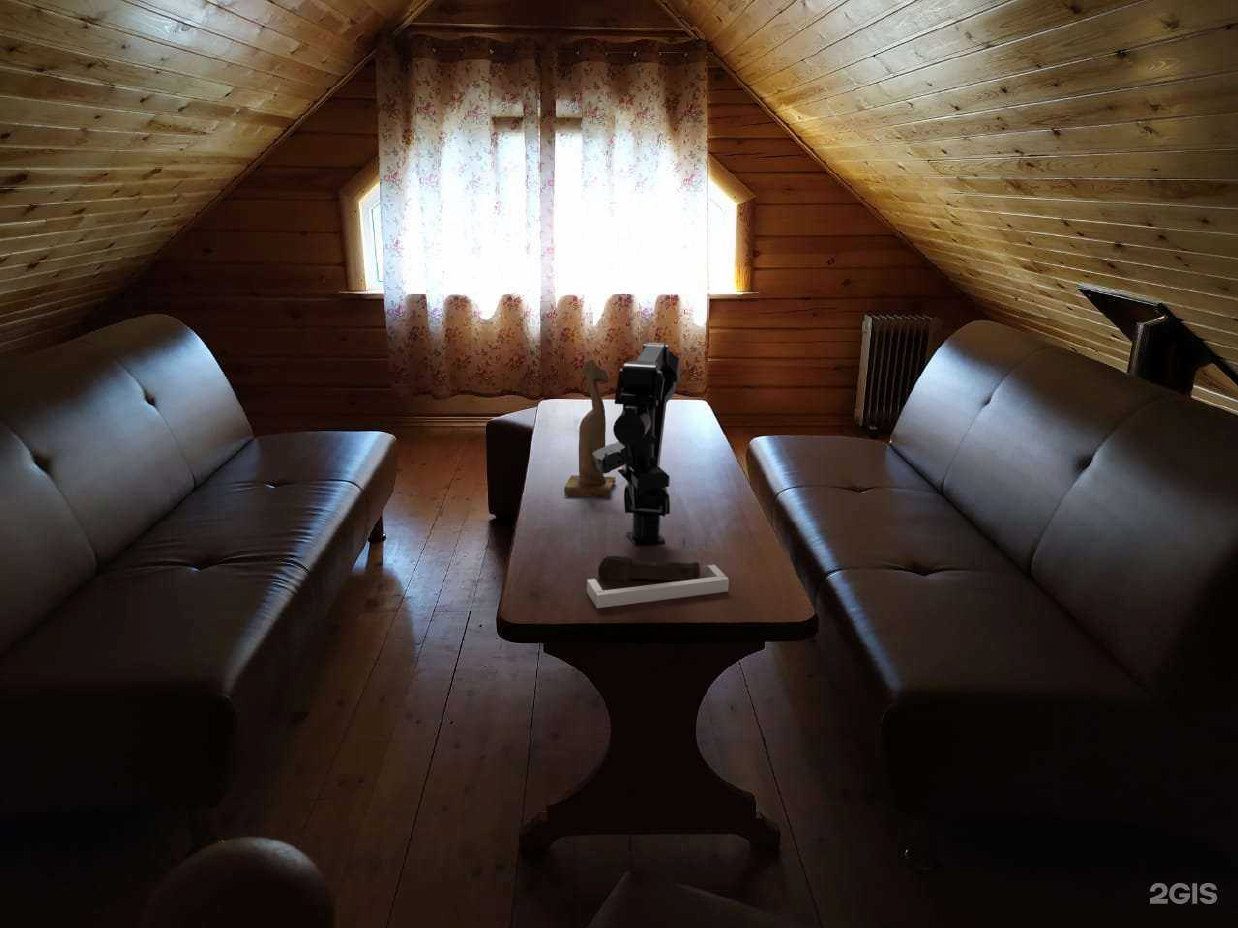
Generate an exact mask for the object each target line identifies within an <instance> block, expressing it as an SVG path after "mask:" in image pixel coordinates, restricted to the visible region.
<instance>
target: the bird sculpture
mask: <svg viewBox="0 0 1238 928" xmlns="http://www.w3.org/2000/svg"><path fill="white" fill-rule="evenodd" d="M582 373H583V375H584V377H585V380H586V383H587V388H588V390H589V395H590V399H591V408H592V409H591V410H590V411H589V412H588V413H586V415H585V416H584V417H583V418H582V419H581V421H580V424H579V427H578V428H579V431H578V436H579V437H578V475H574V474H571V475H570V476H569V479H568V480H567V481H566V482H567V483H566V484H565V486H564V487H563V489H564V490H563V492H564V497H566V496H568V497H571V496H572V497H574V498H578V497H581V498H588V499H589V498H591V499H592V498H594V499H610V498H611V490H612V486H613V484H614V485H615V484H616V480H617V479H616V476H605V474H603V473H601V471H600V470H599V469H598V468H597V465H596V462H595V460H594V457H593V454H592V453H593V452H594V451H596V450H599V449H601V448H603V447H605V446H606V442H607V441H606V431H607V427H606V425H607V424H606V422H607V421H606V411H605V410H606V409H605V405H604V402H603V398H602V395H601V393H600V392H601V391H600V389H599V386H598V382H603V383H606V384H607V383H608V373H607V372H606V370H604V369H602V368H601V367H599V366H598V365H597V363H596V361H595V359H588V360H586V362H585V363H584V365H583V368H582Z"/></svg>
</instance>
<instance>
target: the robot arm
mask: <svg viewBox="0 0 1238 928" xmlns="http://www.w3.org/2000/svg"><path fill="white" fill-rule="evenodd" d="M680 363H681V362H680V357H679V356H677V355H675V354H674V353H673V352H672V351H671V350H670V345H669V344H666V343H663V342H662V343H659V342H646V343H644V344H643V346H642V351H641V353H640V355H639V356H638V358H637V359H636V360H632V361H627V362H625V363H624V364H623V366H622V368H620V369H619V370H618V371H619V372H618V376H617V383H616V389H615V396H614V404H615V405H622V411H621V413H620V414H619V416H618V418H617V419H616V420H615V422H614V424H613V429H612V430H613V431H612V432H613V435H614V438H615V439H616V440H617V441H616V442H615V443H611V444H608V445H605V447H603V448H601V449H599V450H596V451H594V452H593V453H592V454H593V457H594V460H595V462H596V465H597V468H598V469H599V470H600V471H601V473H603V475H606V474H610V472H611V471H614V470H616V469H618V470H617V472H618V473H619V474H620V475H621V477H623V479H624V480H626V483H627V484H625V486H624V492H623V502H624V504H623V505H624V514H632V523H631V524H632V525H631V526H632V530H631V531H626V535H627V537H628V538H629V539H630V540H631V541H632V543H633V544H634V545H636V546H645V545H653V544H654V545H655V544H664V543H665V542H666V539H665V538H664V537H663V536H662V535H661V533H660V531H661V530H660V528H661V517H666V515H670V514H671V497H670V494H669V493H668V488H669V487H670V481H671V480H670V475H669V474H668V473H667V472H666V471H665V470H664V469H662V468H661V467H660V463H661V453H662V446H663V437H664V428H665V420H666V412H667V404H668V402H669V401H670V399H672V397H673V396H674V394H675V393H676V389H677V383H678V384H679V383H680V380H681V365H680ZM620 467H621V469H619V468H620Z"/></svg>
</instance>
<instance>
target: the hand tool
mask: <svg viewBox="0 0 1238 928" xmlns="http://www.w3.org/2000/svg"><path fill="white" fill-rule="evenodd" d="M597 573H598V575H597V576H598V577H600V578H603V579H607V580H610V581H611V580H612V581H613V580H614V581H620V582H628V581H630V580H649V581H652V580H655V581H667V582H669V581H670V582H677V581H686V580H694V579H700V573H701V569H700V563H699V562H698V561H695V562H689V563H688V562H686V563H685V562H679V561H677V562H674V561H666V562H663V561H661V562H660V561H645V560H636V559H634V560H633V559H632V556H621V555H607V556H606V557H603V559H602V560H601V562H600V564H599V565H598V571H597Z"/></svg>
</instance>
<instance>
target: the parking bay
mask: <svg viewBox="0 0 1238 928" xmlns="http://www.w3.org/2000/svg"><path fill="white" fill-rule="evenodd" d="M706 567H707V568H706V577H704V578H702V577H701V578H699V579H694V580H686V581H670V582H669V581H668V582H662V583H655V584H646V585H640V586H632V587H631V586H630V587H623V588H622V587H621V588H614V589H607V590H603V589H602V587H601V585H600V584H599V582H598V581H597V580H596V579H597V578H591V579H589V578H588V579H587V580H586V593H587V594H588V596H589V597H590V600H591V601H592V603H593V604H594V606H595V607H596V609H602V608H603V609H604V608H609V607H618V606H624V605H625V606H626V605H633V604H640V603H641V604H642V603H649V602H657V601H663V600H664V601H665V600H671V599H673V600H674V599H680V598H688V597H695V596H702V595H710V594H718V593H726V592H729V585H730V584H729V582H730V581H729V579H730V578H728V577H727V575H726V574H725V573H723V572H722V570H721V569H720V568H719V567H718V566H717V565H716V564H709V565H706Z"/></svg>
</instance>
